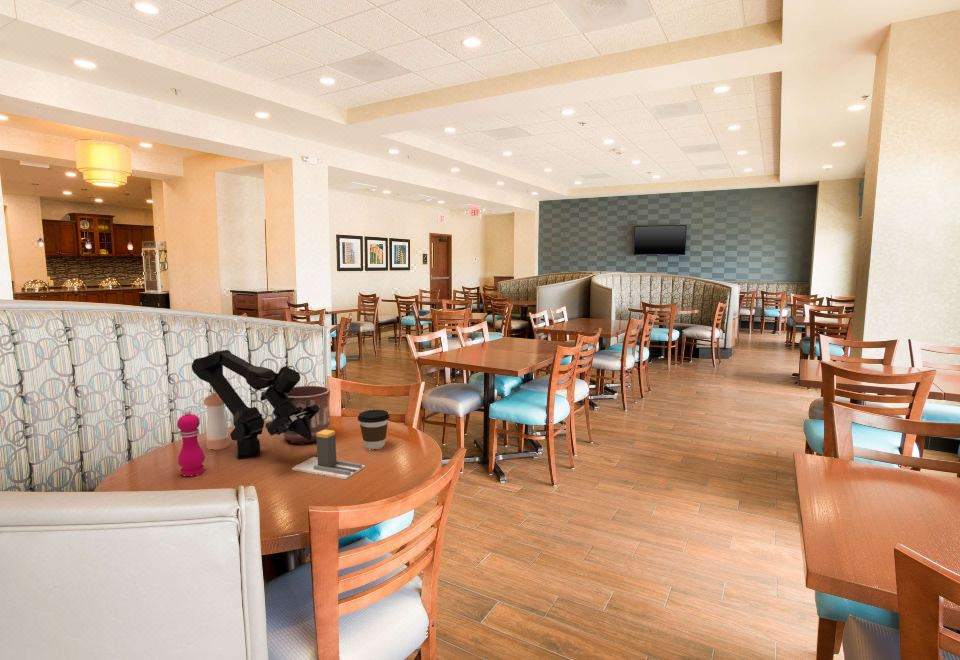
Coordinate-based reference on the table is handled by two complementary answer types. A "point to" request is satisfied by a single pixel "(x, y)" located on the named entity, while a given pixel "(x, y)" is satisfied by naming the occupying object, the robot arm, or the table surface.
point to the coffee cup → (374, 428)
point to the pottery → (305, 398)
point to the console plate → (337, 471)
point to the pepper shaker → (216, 423)
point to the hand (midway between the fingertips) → (310, 439)
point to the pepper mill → (190, 445)
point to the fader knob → (326, 448)
